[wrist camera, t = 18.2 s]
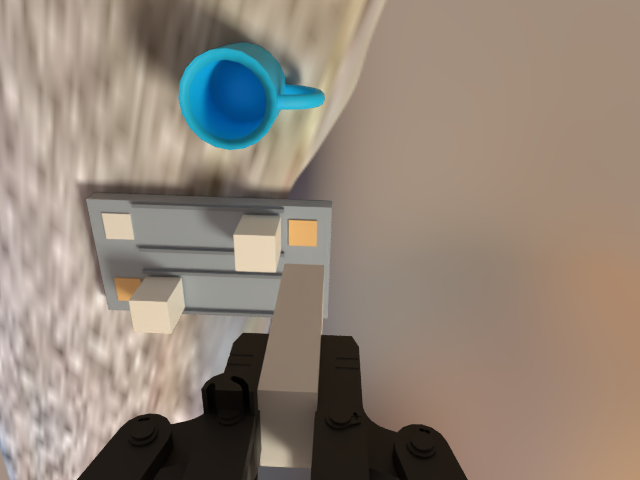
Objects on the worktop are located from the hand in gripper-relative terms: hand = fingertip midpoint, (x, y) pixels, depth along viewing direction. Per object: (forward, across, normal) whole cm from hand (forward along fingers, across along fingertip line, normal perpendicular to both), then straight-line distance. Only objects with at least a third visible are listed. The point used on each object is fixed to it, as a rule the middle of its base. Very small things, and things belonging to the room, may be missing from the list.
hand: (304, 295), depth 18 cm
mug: (+33, -6, +3) cm, 33 cm away
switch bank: (+32, -12, -16) cm, 38 cm away
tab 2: (+30, -6, -12) cm, 33 cm away
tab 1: (+30, -18, -20) cm, 40 cm away
